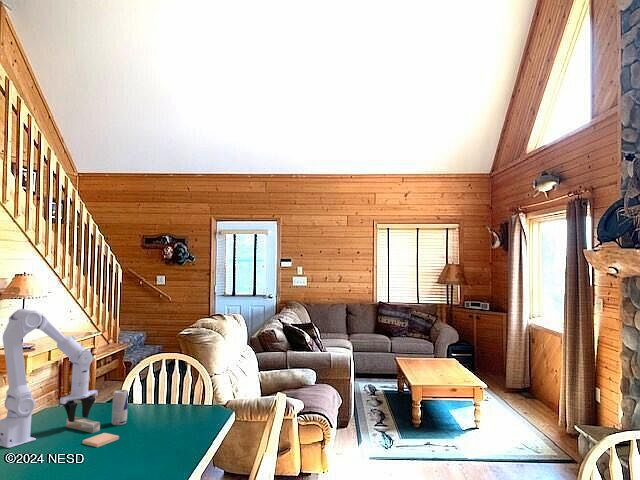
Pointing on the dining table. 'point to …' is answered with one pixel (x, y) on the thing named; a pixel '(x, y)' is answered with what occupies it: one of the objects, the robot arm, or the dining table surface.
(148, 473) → the dining table surface
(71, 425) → the grey and tan bar
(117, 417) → the energy drink
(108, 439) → the tile
